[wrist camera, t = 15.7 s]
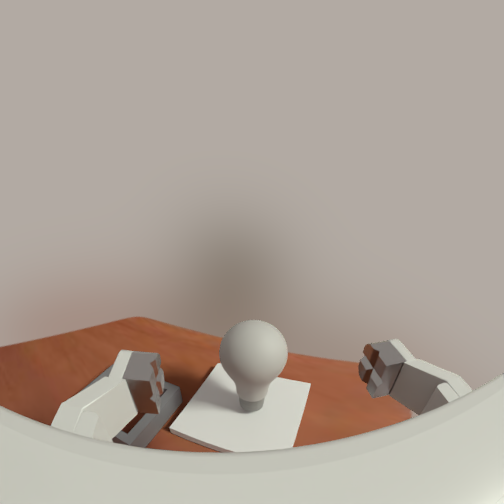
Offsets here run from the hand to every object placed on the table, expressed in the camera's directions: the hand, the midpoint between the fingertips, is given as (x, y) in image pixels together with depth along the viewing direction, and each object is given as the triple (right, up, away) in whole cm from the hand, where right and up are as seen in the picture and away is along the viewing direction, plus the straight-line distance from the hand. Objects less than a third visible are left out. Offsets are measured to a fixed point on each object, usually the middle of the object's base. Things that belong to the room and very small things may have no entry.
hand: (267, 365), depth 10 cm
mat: (-1, -13, +17) cm, 21 cm away
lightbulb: (-1, -12, +16) cm, 21 cm away
